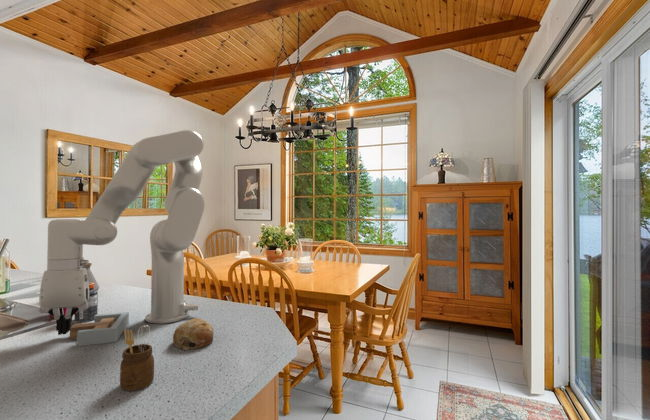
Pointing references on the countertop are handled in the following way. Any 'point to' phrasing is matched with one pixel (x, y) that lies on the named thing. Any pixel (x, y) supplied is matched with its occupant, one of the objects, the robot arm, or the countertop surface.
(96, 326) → the T block
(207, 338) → the bread roll
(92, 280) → the coffee pot
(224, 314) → the countertop surface
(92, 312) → the pill bottle
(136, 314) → the countertop surface
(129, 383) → the utensil holder
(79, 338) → the pocket
